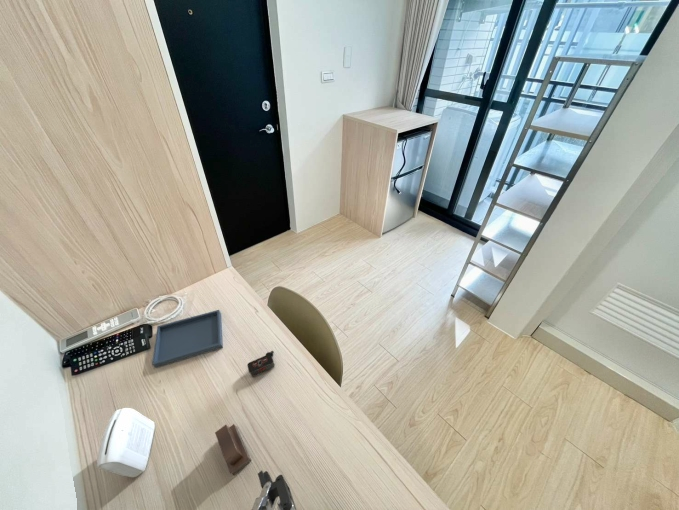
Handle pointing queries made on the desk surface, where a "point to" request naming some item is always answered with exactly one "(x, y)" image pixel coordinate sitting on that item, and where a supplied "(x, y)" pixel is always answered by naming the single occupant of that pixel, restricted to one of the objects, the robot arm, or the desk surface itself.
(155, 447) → the desk surface
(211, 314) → the tray
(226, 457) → the brown wooden block
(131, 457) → the photo printer
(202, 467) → the desk surface
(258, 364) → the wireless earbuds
